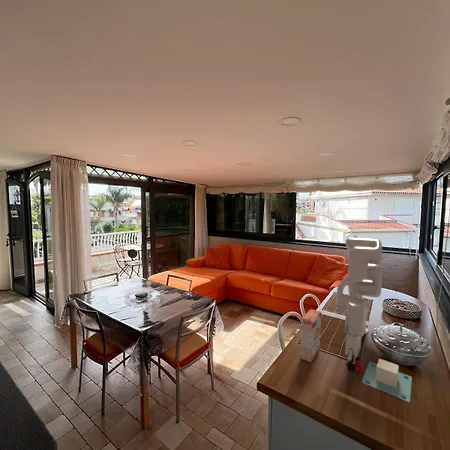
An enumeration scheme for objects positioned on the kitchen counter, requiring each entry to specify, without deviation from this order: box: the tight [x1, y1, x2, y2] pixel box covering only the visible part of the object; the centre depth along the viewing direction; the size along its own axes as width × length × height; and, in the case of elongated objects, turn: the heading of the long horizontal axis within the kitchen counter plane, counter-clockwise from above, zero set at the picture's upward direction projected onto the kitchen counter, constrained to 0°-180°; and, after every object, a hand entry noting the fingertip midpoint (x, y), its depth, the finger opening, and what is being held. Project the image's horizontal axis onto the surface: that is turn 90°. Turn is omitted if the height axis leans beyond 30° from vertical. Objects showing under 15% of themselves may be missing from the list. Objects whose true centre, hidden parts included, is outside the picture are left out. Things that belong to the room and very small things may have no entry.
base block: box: [376, 358, 400, 388], centre depth 100 cm, size 7×7×6 cm
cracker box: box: [299, 309, 322, 363], centre depth 119 cm, size 14×6×21 cm, turn 142°
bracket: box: [344, 360, 365, 373], centre depth 108 cm, size 6×5×3 cm
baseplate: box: [361, 361, 413, 403], centre depth 100 cm, size 18×16×2 cm
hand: (353, 366), depth 108 cm, fingers closed on bracket, 5 cm apart
